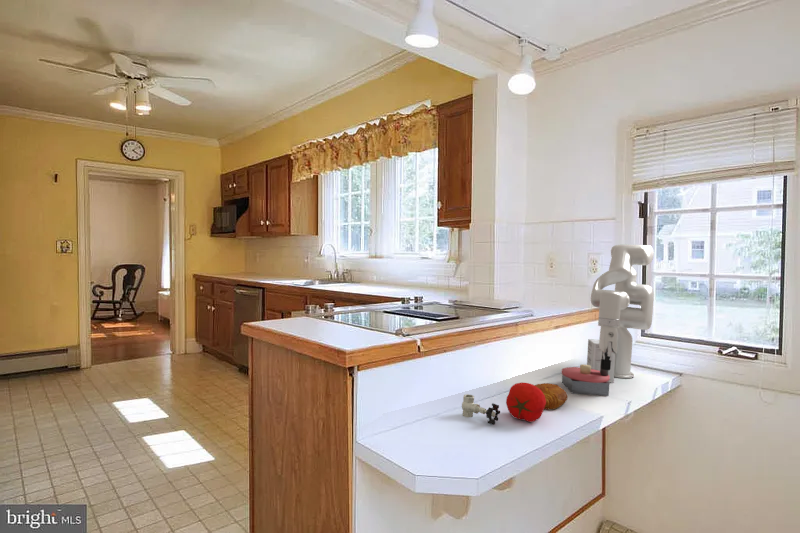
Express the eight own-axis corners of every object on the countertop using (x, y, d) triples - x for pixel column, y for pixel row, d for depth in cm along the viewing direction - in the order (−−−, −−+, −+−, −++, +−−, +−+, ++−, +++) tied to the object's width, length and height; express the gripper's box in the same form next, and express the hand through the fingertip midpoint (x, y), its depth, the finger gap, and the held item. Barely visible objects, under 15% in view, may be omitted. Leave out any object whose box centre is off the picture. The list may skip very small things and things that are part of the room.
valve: (456, 416, 146) (488, 427, 138) (457, 396, 146) (489, 406, 138) (468, 411, 151) (499, 422, 143) (469, 392, 151) (500, 401, 143)
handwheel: (563, 379, 176) (564, 361, 176) (560, 367, 193) (561, 351, 193) (613, 385, 171) (614, 366, 171) (605, 372, 189) (606, 355, 188)
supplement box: (607, 377, 202) (610, 340, 202) (614, 383, 193) (616, 344, 193) (585, 375, 204) (587, 338, 203) (591, 381, 195) (593, 342, 194)
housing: (561, 382, 190) (562, 371, 190) (595, 385, 189) (596, 373, 189) (571, 393, 176) (572, 380, 176) (608, 395, 175) (609, 383, 175)
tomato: (525, 420, 154) (512, 433, 143) (507, 385, 157) (492, 396, 146) (558, 407, 148) (547, 420, 137) (538, 371, 151) (526, 381, 140)
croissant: (571, 409, 165) (574, 387, 165) (556, 413, 153) (559, 390, 153) (533, 398, 174) (536, 377, 175) (516, 401, 162) (519, 379, 163)
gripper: (623, 326, 168) (620, 375, 169) (614, 321, 183) (611, 366, 183) (602, 324, 170) (598, 372, 170) (594, 319, 185) (591, 364, 185)
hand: (605, 369), depth 177 cm, fingers closed
